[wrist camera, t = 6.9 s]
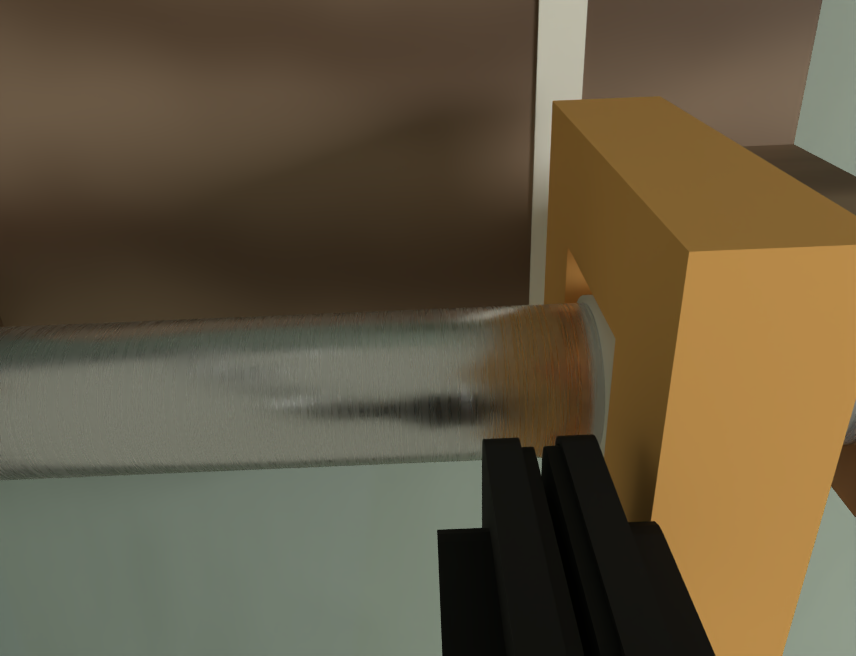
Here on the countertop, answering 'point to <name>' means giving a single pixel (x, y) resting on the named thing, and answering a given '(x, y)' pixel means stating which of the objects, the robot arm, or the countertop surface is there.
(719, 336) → the collar
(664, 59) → the pipe stand
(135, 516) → the countertop surface
